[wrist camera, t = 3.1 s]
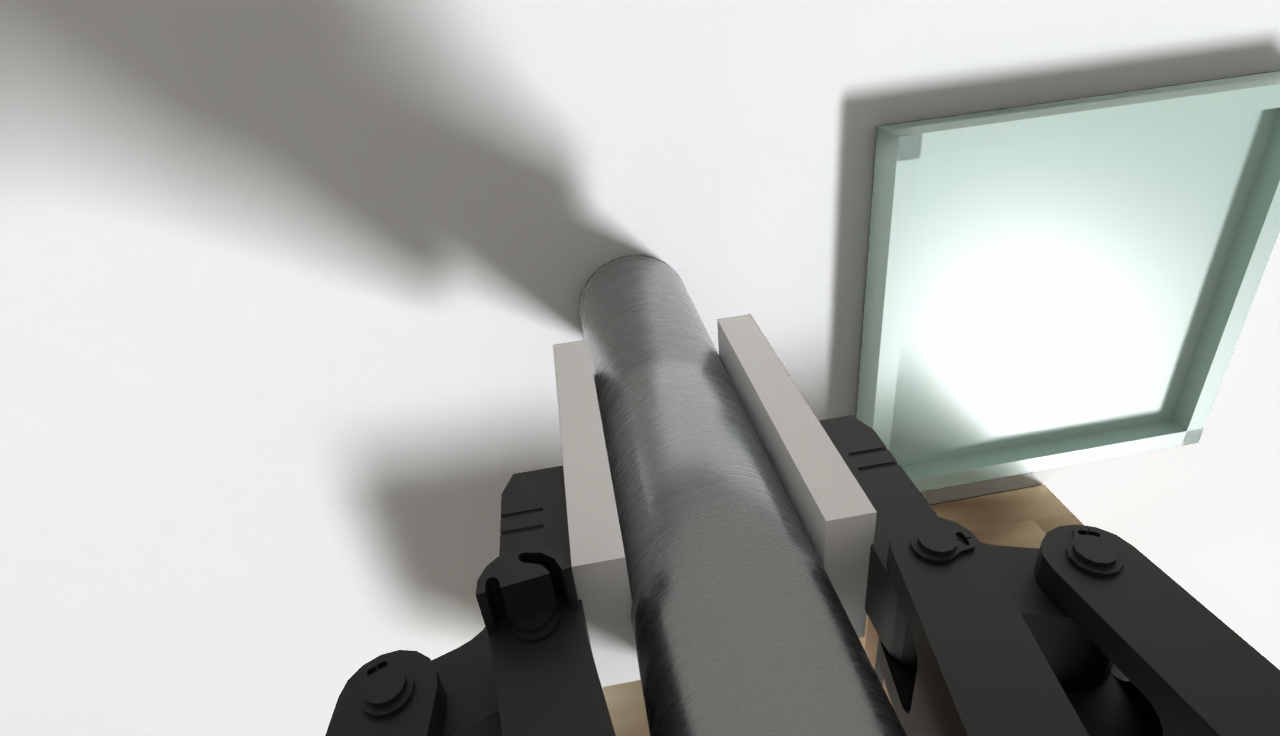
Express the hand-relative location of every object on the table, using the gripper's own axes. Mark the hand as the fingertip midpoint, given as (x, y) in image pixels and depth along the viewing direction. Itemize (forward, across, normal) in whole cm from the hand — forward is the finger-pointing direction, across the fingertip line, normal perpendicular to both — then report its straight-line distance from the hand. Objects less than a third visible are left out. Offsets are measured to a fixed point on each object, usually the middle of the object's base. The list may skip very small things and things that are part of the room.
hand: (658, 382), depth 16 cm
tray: (+4, +12, -2) cm, 13 cm away
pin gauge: (+4, 0, 0) cm, 4 cm away
